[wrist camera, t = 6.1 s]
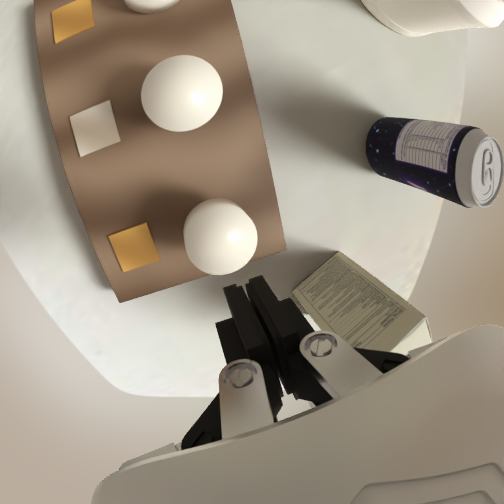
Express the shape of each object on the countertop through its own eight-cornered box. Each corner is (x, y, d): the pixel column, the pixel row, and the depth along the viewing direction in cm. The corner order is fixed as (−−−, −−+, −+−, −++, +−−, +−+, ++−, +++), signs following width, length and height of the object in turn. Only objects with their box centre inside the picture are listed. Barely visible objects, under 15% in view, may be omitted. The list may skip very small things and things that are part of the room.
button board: (42, 5, 12) (32, -3, 10) (210, -46, 14) (214, -58, 12) (122, 290, 24) (119, 304, 22) (278, 240, 26) (287, 250, 24)
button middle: (137, 74, 14) (133, 68, 13) (208, 55, 15) (213, 47, 13) (154, 140, 16) (152, 142, 15) (224, 120, 17) (230, 119, 15)
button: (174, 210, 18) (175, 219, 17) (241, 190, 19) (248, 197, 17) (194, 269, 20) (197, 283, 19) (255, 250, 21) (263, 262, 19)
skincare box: (310, 315, 30) (373, 401, 19) (289, 290, 28) (355, 381, 17) (358, 275, 30) (436, 346, 19) (341, 247, 28) (428, 317, 17)
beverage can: (361, 179, 26) (464, 220, 15) (357, 117, 23) (468, 128, 12) (405, 172, 27) (503, 207, 16) (403, 116, 24) (507, 131, 13)
